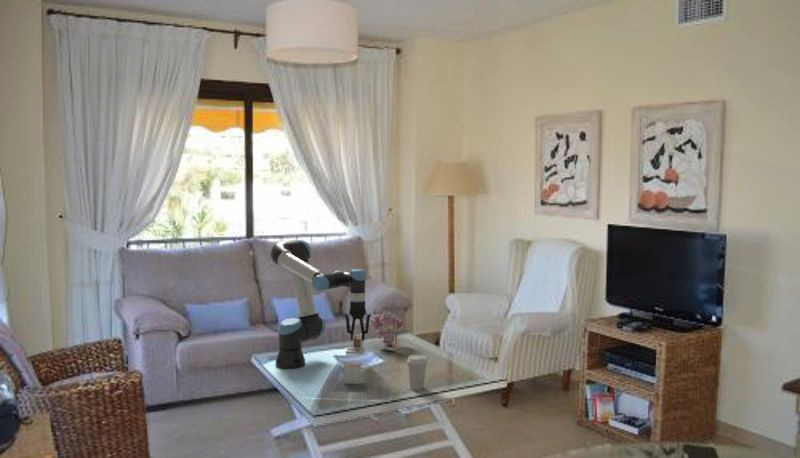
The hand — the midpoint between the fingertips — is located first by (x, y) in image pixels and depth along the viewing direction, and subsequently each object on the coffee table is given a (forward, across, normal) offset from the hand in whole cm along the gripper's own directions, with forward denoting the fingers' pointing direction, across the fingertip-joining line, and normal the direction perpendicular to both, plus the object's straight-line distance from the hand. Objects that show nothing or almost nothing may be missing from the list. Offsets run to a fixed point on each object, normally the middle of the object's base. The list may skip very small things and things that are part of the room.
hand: (357, 346), depth 334 cm
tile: (+13, 0, -16) cm, 21 cm away
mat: (+14, 0, -21) cm, 25 cm away
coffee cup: (+14, +31, -18) cm, 38 cm away
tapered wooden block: (0, 0, -3) cm, 3 cm away
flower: (+14, +10, +48) cm, 51 cm away
